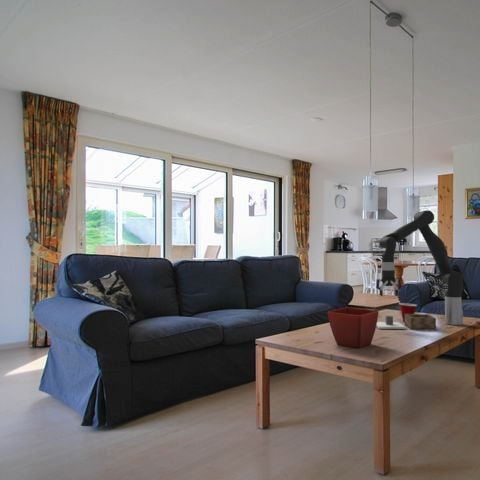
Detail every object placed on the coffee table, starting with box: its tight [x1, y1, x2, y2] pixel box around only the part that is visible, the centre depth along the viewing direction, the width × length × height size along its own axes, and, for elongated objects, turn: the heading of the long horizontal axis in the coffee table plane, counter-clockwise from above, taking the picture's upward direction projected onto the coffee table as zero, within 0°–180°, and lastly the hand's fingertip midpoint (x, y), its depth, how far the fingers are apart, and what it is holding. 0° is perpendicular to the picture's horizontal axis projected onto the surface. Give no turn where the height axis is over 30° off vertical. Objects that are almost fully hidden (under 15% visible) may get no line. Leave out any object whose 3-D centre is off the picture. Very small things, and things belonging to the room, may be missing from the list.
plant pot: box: [327, 307, 379, 349], centre depth 211 cm, size 19×19×17 cm
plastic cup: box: [398, 302, 418, 323], centre depth 270 cm, size 11×11×12 cm
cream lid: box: [376, 315, 406, 330], centre depth 254 cm, size 15×15×7 cm
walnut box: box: [404, 313, 437, 331], centre depth 252 cm, size 14×14×7 cm
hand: (388, 296), depth 254 cm, fingers open, 8 cm apart
